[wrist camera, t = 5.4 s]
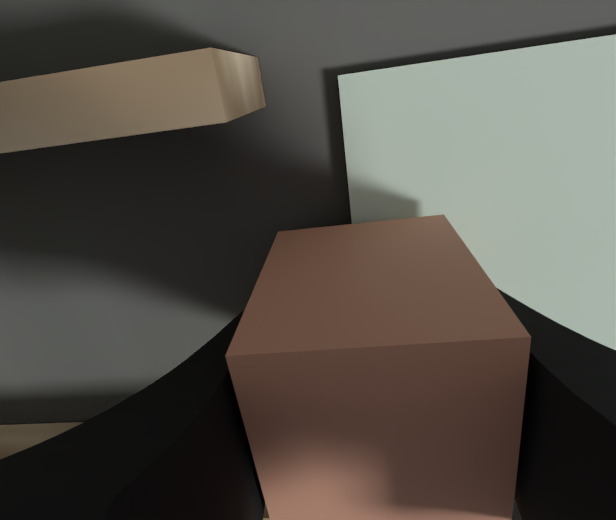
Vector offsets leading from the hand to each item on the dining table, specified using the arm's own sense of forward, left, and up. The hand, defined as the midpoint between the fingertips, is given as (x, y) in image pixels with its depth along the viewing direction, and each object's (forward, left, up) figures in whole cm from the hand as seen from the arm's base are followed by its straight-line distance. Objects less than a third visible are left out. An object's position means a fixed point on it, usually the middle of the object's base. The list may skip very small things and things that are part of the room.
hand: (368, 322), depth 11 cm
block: (0, 0, -1) cm, 1 cm away
